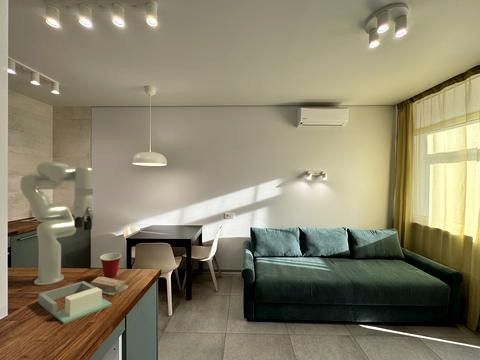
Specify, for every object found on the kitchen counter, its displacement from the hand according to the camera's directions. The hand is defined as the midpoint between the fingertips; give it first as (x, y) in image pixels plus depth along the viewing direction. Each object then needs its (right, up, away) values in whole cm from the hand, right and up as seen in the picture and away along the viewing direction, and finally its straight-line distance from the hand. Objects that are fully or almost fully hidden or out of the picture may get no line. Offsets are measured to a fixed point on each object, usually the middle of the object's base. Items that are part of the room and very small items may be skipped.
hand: (83, 228), depth 121 cm
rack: (0, -30, -9) cm, 32 cm away
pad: (+11, -30, -17) cm, 36 cm away
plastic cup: (+3, -31, +19) cm, 36 cm away
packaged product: (+9, -31, +4) cm, 33 cm away
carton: (+11, -30, -17) cm, 36 cm away
